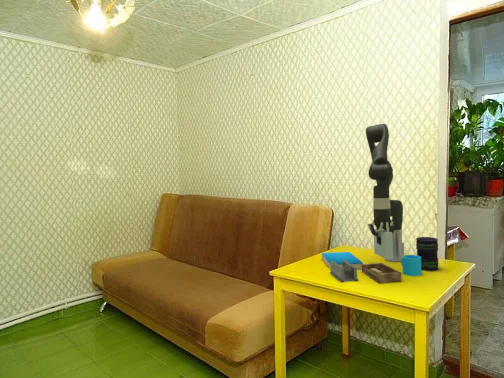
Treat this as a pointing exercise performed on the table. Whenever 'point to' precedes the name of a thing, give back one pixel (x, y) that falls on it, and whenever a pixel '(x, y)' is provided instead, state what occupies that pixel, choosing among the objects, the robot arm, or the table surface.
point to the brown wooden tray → (386, 276)
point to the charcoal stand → (344, 271)
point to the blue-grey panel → (384, 245)
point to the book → (341, 259)
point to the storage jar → (427, 253)
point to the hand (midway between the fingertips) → (383, 243)
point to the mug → (411, 265)
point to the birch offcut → (375, 270)
